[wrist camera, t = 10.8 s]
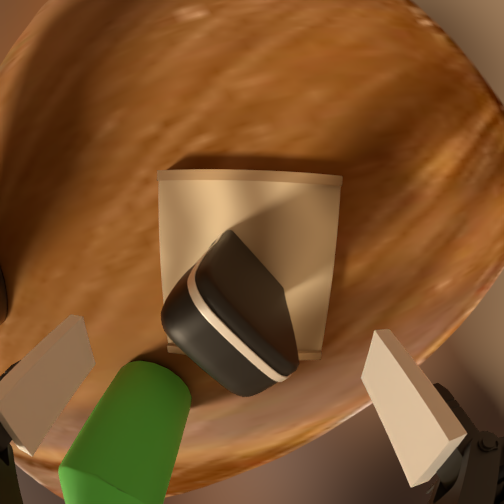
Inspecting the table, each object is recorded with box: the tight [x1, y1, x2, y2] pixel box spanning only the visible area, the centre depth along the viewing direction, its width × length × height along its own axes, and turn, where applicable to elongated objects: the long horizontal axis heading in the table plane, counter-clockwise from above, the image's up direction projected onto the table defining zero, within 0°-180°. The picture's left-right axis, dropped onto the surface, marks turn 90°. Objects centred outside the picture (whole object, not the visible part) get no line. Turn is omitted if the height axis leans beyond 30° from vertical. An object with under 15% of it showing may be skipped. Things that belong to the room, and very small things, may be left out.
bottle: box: [58, 361, 192, 504], centre depth 15 cm, size 9×9×25 cm
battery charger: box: [161, 230, 299, 397], centre depth 17 cm, size 7×4×11 cm, turn 41°
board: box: [157, 169, 343, 360], centre depth 23 cm, size 14×16×2 cm
